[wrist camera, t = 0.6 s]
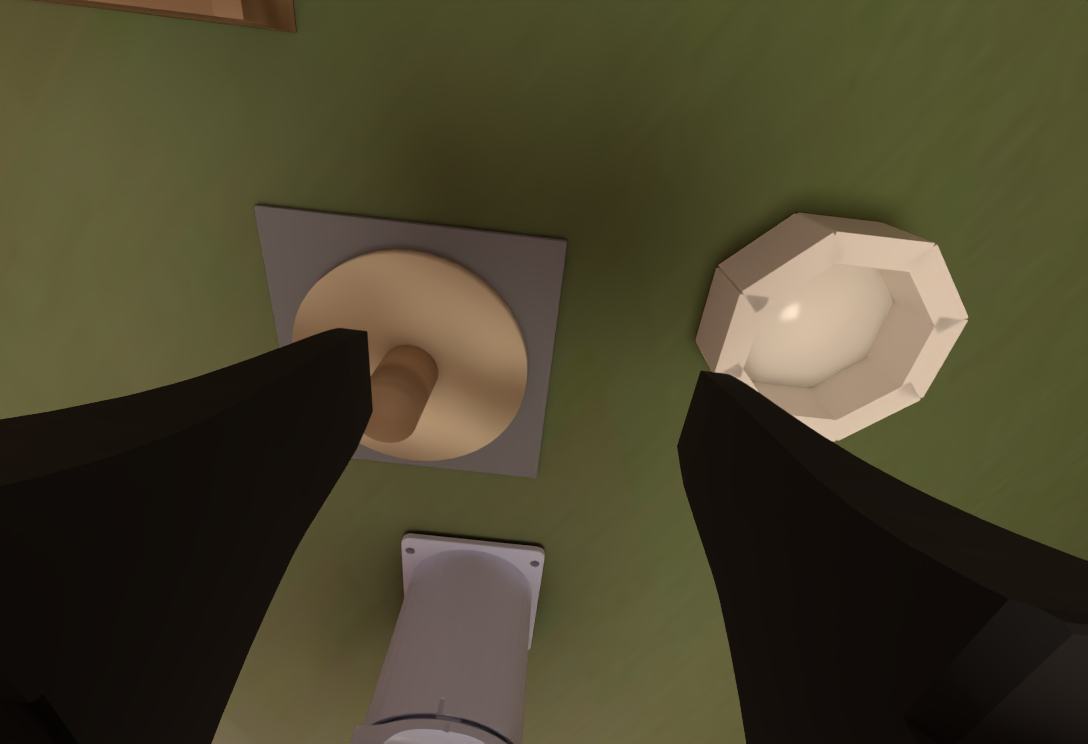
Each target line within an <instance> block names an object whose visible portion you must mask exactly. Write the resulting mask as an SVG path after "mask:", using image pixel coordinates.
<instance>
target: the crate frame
mask: <svg viewBox="0 0 1088 744" xmlns="http://www.w3.org/2000/svg"><path fill="white" fill-rule="evenodd" d="M35 1H43V2H51V3H59V4H68V5H76V6H84V7H92V8H100V9H108V10H116V11H124V12H133V13H141V14H149V15H157V16H165V17H173V18H181V19H189V20H198V21H206V22H214V23H222V24H230V25H238V26H246V27H254V28H263V29H271V30H279V31H287V32H295V33H296V25H295V17H294V8H293V0H35Z"/></svg>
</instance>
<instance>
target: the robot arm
mask: <svg viewBox="0 0 1088 744" xmlns="http://www.w3.org/2000/svg"><path fill="white" fill-rule="evenodd" d="M372 412H373V405H372V390H371V376H370V362H369V347H368V333H367V331H362V330H354V329H345V328H335V329H331V330H327V331H324V332H321V333H318V334H315V335H312V336H310V337H307V338H304V339H302V340H299V341H296V342H294V343H291V344H288V345H286V346H283V347H280V348H278V349H275V350H273V351H270V352H267V353H265V354H262V355H259V356H257V357H254V358H251V359H248V360H245V361H242V362H240V363H237V364H234V365H231V366H228V367H225V368H222V369H219V370H216V371H213V372H210V373H207V374H205V375H201V376H198V377H195V378H192V379H188V380H185V381H181V382H178V383H175V384H171V385H167V386H163V387H160V388H156V389H152V390H148V391H144V392H140V393H136V394H132V395H128V396H124V397H119V398H114V399H109V400H104V401H99V402H94V403H89V404H85V405H80V406H75V407H70V408H65V409H60V410H55V411H50V412H44V413H38V414H32V415H26V416H19V417H13V418H7V419H1V420H0V744H211V743H212V740H213V738H214V735H215V732H216V730H217V727H218V725H219V722H220V719H221V717H222V714H223V712H224V710H225V707H226V705H227V702H228V700H229V698H230V695H231V693H232V690H233V688H234V686H235V683H236V681H237V678H238V676H239V674H240V671H241V669H242V666H243V664H244V662H245V659H246V657H247V654H248V652H249V650H250V647H251V645H252V643H253V641H254V638H255V636H256V634H257V632H258V629H259V627H260V625H261V623H262V621H263V618H264V616H265V614H266V612H267V609H268V607H269V605H270V603H271V600H272V598H273V596H274V594H275V592H276V590H277V588H278V586H279V584H280V581H281V579H282V577H283V575H284V573H285V571H286V569H287V567H288V565H289V563H290V561H291V558H292V556H293V554H294V552H295V550H296V549H297V547H298V545H299V543H300V541H301V540H302V538H303V536H304V534H305V533H306V531H307V529H308V528H309V526H310V524H311V523H312V521H313V520H314V518H315V516H316V515H317V513H318V511H319V510H320V508H321V507H322V505H323V503H324V502H325V500H326V499H327V497H328V495H329V494H330V492H331V491H332V489H333V487H334V486H335V484H336V483H337V481H338V479H339V478H340V476H341V474H342V473H343V471H344V469H345V468H346V466H347V465H348V463H349V461H350V460H351V458H352V456H353V455H354V453H355V451H356V449H357V448H358V445H359V443H360V441H361V439H362V436H363V434H364V432H365V430H366V427H367V425H368V422H369V420H370V417H371V415H372ZM677 448H678V455H679V461H680V468H681V474H682V479H683V484H684V488H685V491H686V495H687V498H688V501H689V504H690V507H691V510H692V513H693V517H694V520H695V523H696V526H697V529H698V532H699V535H700V538H701V541H702V544H703V547H704V550H705V553H706V556H707V559H708V562H709V565H710V568H711V571H712V574H713V577H714V581H715V585H716V588H717V592H718V595H719V599H720V604H721V609H722V613H723V618H724V623H725V627H726V632H727V637H728V642H729V646H730V652H731V657H732V662H733V668H734V673H735V679H736V684H737V689H738V695H739V700H740V706H741V713H742V719H743V725H744V732H745V738H746V744H1088V561H1086V560H1083V559H1081V558H1078V557H1075V556H1073V555H1070V554H1067V553H1065V552H1062V551H1060V550H1057V549H1054V548H1052V547H1049V546H1047V545H1044V544H1042V543H1039V542H1036V541H1034V540H1031V539H1029V538H1026V537H1023V536H1021V535H1018V534H1016V533H1013V532H1011V531H1009V530H1006V529H1004V528H1001V527H999V526H997V525H994V524H992V523H989V522H987V521H985V520H982V519H980V518H978V517H976V516H973V515H971V514H969V513H967V512H965V511H962V510H960V509H958V508H956V507H954V506H951V505H949V504H947V503H945V502H943V501H940V500H938V499H936V498H934V497H932V496H930V495H928V494H926V493H924V492H922V491H920V490H918V489H915V488H913V487H911V486H909V485H907V484H906V483H904V482H902V481H900V480H898V479H896V478H894V477H893V476H891V475H889V474H887V473H885V472H883V471H881V470H879V469H878V468H876V467H874V466H872V465H870V464H868V463H867V462H865V461H863V460H861V459H860V458H858V457H856V456H855V455H853V454H851V453H850V452H848V451H846V450H845V449H843V448H841V447H840V446H838V445H837V444H835V443H833V442H832V441H830V440H829V439H827V438H825V437H824V436H822V435H821V434H819V433H818V432H816V431H815V430H813V429H812V428H810V427H809V426H807V425H806V424H804V423H803V422H801V421H800V420H798V419H797V418H795V417H794V416H792V415H791V414H789V413H788V412H786V411H785V410H784V409H782V408H781V407H779V406H778V405H776V404H775V403H774V402H772V401H771V400H769V399H768V398H766V397H765V396H763V395H762V394H761V393H759V392H758V391H756V390H755V389H753V388H752V387H750V386H749V385H747V384H746V383H744V382H742V381H741V380H739V379H737V378H736V377H734V376H732V375H730V374H724V373H716V372H707V371H700V375H699V378H698V381H697V384H696V387H695V391H694V394H693V397H692V400H691V403H690V407H689V410H688V413H687V416H686V419H685V423H684V426H683V429H682V432H681V436H680V439H679V442H678V445H677ZM401 549H402V567H403V584H404V601H403V604H402V607H401V610H400V613H399V616H398V619H397V622H396V625H395V629H394V632H393V635H392V638H391V641H390V644H389V647H388V650H387V653H386V657H385V660H384V663H383V666H382V669H381V672H380V675H379V678H378V681H377V684H376V688H375V691H374V694H373V697H372V700H371V703H370V706H369V709H368V712H367V716H366V719H365V722H364V724H357V725H356V726H355V729H354V732H353V735H352V738H351V741H350V744H522V735H523V720H524V705H525V690H526V675H527V660H528V650H529V649H530V648H531V642H532V635H533V629H534V622H535V616H536V610H537V603H538V597H539V591H540V584H541V578H542V571H543V565H544V559H545V551H544V550H543V549H542V548H540V547H537V546H528V545H518V544H509V543H499V542H490V541H480V540H470V539H461V538H451V537H441V536H432V535H422V534H413V533H409V534H406V535H404V536H403V539H402V542H401Z"/></svg>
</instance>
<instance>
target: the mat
mask: <svg viewBox="0 0 1088 744" xmlns="http://www.w3.org/2000/svg"><path fill="white" fill-rule="evenodd" d="M254 210H255V216H256V221H257V227H258V232H259V238H260V243H261V249H262V254H263V260H264V265H265V271H266V276H267V282H268V287H269V293H270V298H271V304H272V309H273V315H274V320H275V326H276V331H277V337H278V342H279V348H280V347H283V346H286V345H288V344H291V343H292V333H293V326H294V322H295V317H296V315H297V312H298V310H299V307H300V305H301V303H302V301H303V300H304V298H305V296H306V295H307V293H308V292H309V291H310V290H311V288H312V287H313V286H314V285H315V284H316V283H317V282H318V281H319V280H320V279H322V278H323V277H324V276H325V275H326V274H328V273H329V272H330V271H332V270H333V269H334V268H336V267H337V266H339V265H340V264H342V263H344V262H346V261H347V260H349V259H351V258H354V257H357V256H359V255H362V254H365V253H369V252H374V251H378V250H388V249H409V250H417V251H422V252H428V253H431V254H435V255H438V256H441V257H444V258H447V259H449V260H451V261H453V262H456V263H458V264H460V265H462V266H464V267H465V268H467V269H469V270H470V271H472V272H474V273H475V274H476V275H478V276H479V277H480V278H482V279H483V280H484V281H485V282H487V283H488V284H489V285H490V286H491V287H492V288H493V289H494V290H495V291H496V292H497V293H498V294H499V295H500V296H501V298H502V299H503V300H504V301H505V303H506V304H507V305H508V307H509V308H510V310H511V311H512V313H513V315H514V316H515V318H516V320H517V322H518V324H519V327H520V329H521V331H522V334H523V337H524V341H525V345H526V349H527V358H528V374H527V382H526V387H525V393H524V397H523V400H522V403H521V406H520V408H519V410H518V412H517V414H516V416H515V417H514V419H513V420H512V422H511V423H510V424H509V426H508V427H507V428H506V429H505V430H504V431H503V432H502V433H501V434H500V435H499V436H498V437H497V438H496V439H494V440H493V441H492V442H490V443H489V444H487V445H486V446H484V447H482V448H480V449H479V450H476V451H474V452H472V453H469V454H467V455H463V456H460V457H456V458H452V459H446V460H437V461H418V460H409V459H402V458H398V457H394V456H390V455H386V454H383V453H380V452H378V451H375V450H372V449H370V448H368V447H366V446H364V445H362V444H360V443H359V445H358V448H357V449H356V451H355V453H354V455H353V456H352V459H361V460H370V461H380V462H389V463H399V464H408V465H417V466H427V467H436V468H445V469H455V470H464V471H473V472H483V473H492V474H502V475H511V476H520V477H530V478H537V472H538V464H539V456H540V449H541V441H542V433H543V425H544V418H545V410H546V402H547V394H548V387H549V379H550V371H551V363H552V356H553V348H554V340H555V332H556V325H557V317H558V309H559V302H560V294H561V286H562V278H563V271H564V263H565V255H566V247H567V240H563V239H555V238H546V237H538V236H529V235H520V234H512V233H503V232H495V231H486V230H477V229H469V228H460V227H452V226H443V225H434V224H426V223H417V222H409V221H400V220H391V219H383V218H374V217H366V216H357V215H348V214H340V213H331V212H323V211H314V210H305V209H297V208H288V207H280V206H271V205H262V204H256V205H254Z"/></svg>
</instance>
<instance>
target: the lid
mask: <svg viewBox="0 0 1088 744" xmlns="http://www.w3.org/2000/svg"><path fill="white" fill-rule="evenodd" d="M335 328H345V329H354V330H362V331H367V333H368V347H369V362H370V376H371V390H372V405H373V412H372V415H371V417H370V420H369V422H368V425H367V427H366V430H365V432H364V434H363V436H362V439H361V441H360V444H362V445H364V446H366V447H368V448H370V449H372V450H375V451H378V452H380V453H383V454H386V455H390V456H394V457H398V458H402V459H409V460H418V461H437V460H446V459H452V458H456V457H460V456H463V455H467V454H469V453H472V452H474V451H476V450H479V449H480V448H482V447H484V446H486V445H487V444H489V443H490V442H492V441H493V440H494V439H496V438H497V437H498V436H499V435H500V434H501V433H502V432H503V431H504V430H505V429H506V428H507V427H508V426H509V424H510V423H511V422H512V420H513V419H514V417H515V416H516V414H517V412H518V410H519V408H520V406H521V403H522V400H523V397H524V393H525V387H526V382H527V374H528V358H527V349H526V345H525V341H524V337H523V334H522V331H521V329H520V327H519V324H518V322H517V320H516V318H515V316H514V315H513V313H512V311H511V310H510V308H509V307H508V305H507V304H506V303H505V301H504V300H503V299H502V298H501V296H500V295H499V294H498V293H497V292H496V291H495V290H494V289H493V288H492V287H491V286H490V285H489V284H488V283H487V282H485V281H484V280H483V279H482V278H480V277H479V276H478V275H476V274H475V273H474V272H472V271H470V270H469V269H467V268H465V267H464V266H462V265H460V264H458V263H456V262H453V261H451V260H449V259H447V258H444V257H441V256H438V255H435V254H431V253H428V252H422V251H417V250H409V249H388V250H378V251H374V252H369V253H365V254H362V255H359V256H357V257H354V258H351V259H349V260H347V261H346V262H344V263H342V264H340V265H339V266H337V267H336V268H334V269H333V270H332V271H330V272H329V273H328V274H326V275H325V276H324V277H323V278H322V279H320V280H319V281H318V282H317V283H316V284H315V285H314V286H313V287H312V288H311V290H310V291H309V292H308V293H307V295H306V296H305V298H304V300H303V301H302V303H301V305H300V307H299V310H298V312H297V315H296V317H295V322H294V326H293V333H292V343H294V342H296V341H299V340H302V339H304V338H307V337H310V336H312V335H315V334H318V333H321V332H324V331H327V330H331V329H335Z"/></svg>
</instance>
